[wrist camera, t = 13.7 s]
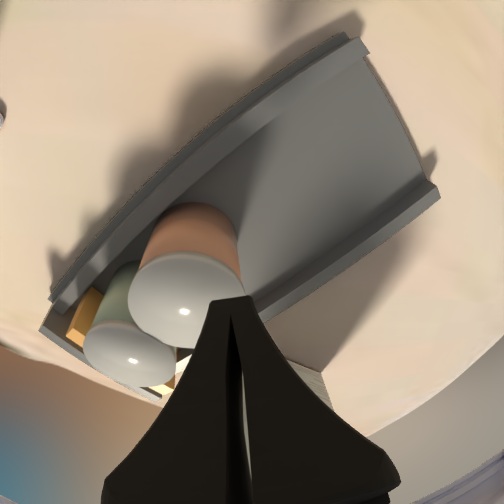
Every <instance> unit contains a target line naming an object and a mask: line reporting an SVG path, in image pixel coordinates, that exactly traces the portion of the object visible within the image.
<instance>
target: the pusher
mask: <svg viewBox="0 0 504 504" xmlns="http://www.w3.org/2000/svg"><path fill="white" fill-rule="evenodd" d="M103 297H104V295H102V294H101V293H100V292H98V291H97V290H96V289H95V288H93V287H92V286H91V287H90V288H89V289H88V290H87V292H86V293H85V294H84V295H83V297H82V299H81V301H80V304H79V306H78V308H77V310H76V312H75V315H74V317H73V319H72V322H71V324H70V326H69V329H68V331H67V333H66V337H68V338H69V339H71V340H72V341H73V342H75V343H76V344H78V345H79V346H81V347H82V348H83V342H84V339H85V336H86V334H87V332H88V330H89V329H90V328H91V326H92V324H93V321H94V319H95V316H96V314H97V311H98V309H99V307H100V304H101V302H102V300H103ZM176 359H177V347H176ZM175 371H176V370H175ZM174 385H175V374H174V376H173V377H172V379H171V380H169V381H168V382H166V383H165V384H162V385H159V386H154V387H149V388H151V389H153V390H154V391H156V392H158V393H160V394H162V395H165V394H167V393H169V392H171V391H173V390H174ZM129 386H130V385H129ZM131 387H133V388H136V386H131Z"/></svg>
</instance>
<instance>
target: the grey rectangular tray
mask: <svg viewBox="0 0 504 504" xmlns="http://www.w3.org/2000/svg"><path fill="white" fill-rule="evenodd" d="M369 53H370V52H369V51H368V49H367V48H366V46H365V45H364V43H363V42H362V41H361V39H360V38H359V37H356V38H352V39H349V38H348V37H347V35H346V34H345V32H341V33H338V34H337V35H335V36H333V37H332V38H330V39H328V40H327V41H325V42H323V43H322V44H320V45H318V46H317V47H315V48H314V49H312V50H311V51H309V52H307V53H306V54H304V55H303V56H301V57H300V58H298V59H297V60H295V61H294V62H292V63H291V64H289V65H288V66H286V67H285V68H283V69H282V70H280V71H279V72H278V73H276V74H275V75H273V76H272V77H271V78H269V79H268V80H266V81H265V82H264V83H262V84H261V85H260V86H258V87H257V88H256V89H254V90H253V91H252V92H250V93H249V94H248V95H246V96H245V97H244V98H242V99H241V100H240V101H238V102H237V103H236V104H235V105H233V106H232V107H231V108H230V109H228V110H227V111H226V112H225V113H223V114H222V115H221V116H220V117H219V118H217V119H216V120H215V121H214V122H212V123H211V124H210V125H209V126H208V127H207V128H205V129H204V130H203V131H202V132H201V133H200V134H198V135H197V136H196V137H195V138H194V139H193V140H192V141H190V142H189V143H188V144H187V145H186V146H185V147H184V148H183V149H182V150H180V151H179V152H178V153H177V154H176V155H175V156H174V157H173V158H172V159H171V160H170V161H169V162H167V163H166V164H165V165H164V166H163V167H162V168H161V169H160V170H159V171H158V172H157V173H156V174H155V175H154V176H153V177H152V178H151V179H150V180H149V181H148V182H147V183H146V184H145V185H144V186H143V187H142V188H141V189H140V190H139V191H138V192H137V193H136V194H135V195H134V196H133V197H132V198H131V199H130V200H129V201H128V202H127V203H126V204H125V205H124V207H123V208H122V209H121V210H120V211H119V212H118V213H117V214H116V215H115V216H114V217H113V218H112V220H111V221H110V222H109V223H108V224H107V225H106V226H105V227H104V228H103V230H102V231H101V232H100V233H99V234H98V235H97V236H96V238H95V239H94V240H93V241H92V242H91V243H90V245H89V246H88V247H87V248H86V249H85V251H84V252H83V253H82V254H81V255H80V257H79V258H78V259H77V260H76V262H75V263H74V264H73V265H72V267H71V268H70V269H69V270H68V272H67V273H66V274H65V276H64V277H63V278H62V279H61V281H60V282H59V283H58V285H57V286H56V287H55V289H54V290H53V291H52V293H51V294H50V296H49V298H48V300H49V301H51V302H52V305H51V307H50V309H49V311H48V313H47V315H46V317H45V318H44V320H43V322H42V324H41V326H40V329H39V332H41V333H42V334H43V335H45V336H46V337H47V338H49V339H50V340H51V341H53V342H54V343H56V344H57V345H58V346H60V347H61V348H63V349H64V350H66V351H67V352H69V353H70V354H72V355H73V356H75V357H76V358H78V359H79V360H81V361H82V362H84V363H85V364H87V365H89V366H90V367H92V368H93V369H95V368H94V367H93V366H92V365H91V364H90V363H89V361H88V360H87V358H86V356H85V354H84V352H83V348H82V347H81V346H79V345H78V344H76V343H75V342H73V341H72V340H71V339H69V338H68V337H66V333H67V331H68V329H69V326H70V324H71V322H72V319H73V317H74V315H75V312H76V310H77V308H78V306H79V304H80V301H81V299H82V297H83V295H84V294H85V293H86V292H87V290H88V289H89V288H90V287H91V286H92V287H93V288H95V289H96V290H97V291H98V292H100V293H101V294H102V295H105V293H106V290H107V288H108V286H109V284H110V281H111V279H112V277H113V275H114V273H115V271H116V270H117V269H118V268H119V267H120V266H121V265H123V264H125V263H127V262H130V261H136V260H142V258H143V255H144V252H145V249H146V247H147V244H148V241H149V238H150V236H151V233H152V230H153V228H154V225H155V223H156V221H157V220H158V218H159V217H160V216H161V215H162V214H163V213H164V212H165V211H166V210H167V209H169V208H171V207H172V206H175V205H177V204H180V203H185V202H201V203H206V204H209V205H212V206H214V207H216V208H217V209H219V210H220V211H222V212H223V213H224V214H225V215H226V216H227V217H228V218H229V219H230V221H231V222H232V224H233V226H234V229H235V232H236V238H237V247H238V256H239V264H240V273H241V281H242V284H243V286H244V289H245V295H249V296H251V297H252V298H253V302H254V305H255V308H256V310H257V312H258V315H259V317H260V319H261V321H262V323H265V322H266V321H268V320H270V319H271V318H273V317H274V316H276V315H278V314H279V313H281V312H282V311H284V310H285V309H287V308H289V307H290V306H292V305H293V304H295V303H296V302H298V301H299V300H301V299H302V298H304V297H306V296H307V295H309V294H310V293H312V292H313V291H315V290H316V289H318V288H319V287H321V286H322V285H324V284H325V283H327V282H328V281H329V280H331V279H332V278H334V277H335V276H337V275H338V274H340V273H341V272H343V271H344V270H345V269H347V268H348V267H350V266H351V265H353V264H354V263H355V262H357V261H358V260H360V259H361V258H362V257H364V256H365V255H367V254H368V253H369V252H371V251H372V250H374V249H375V248H376V247H378V246H379V245H380V244H382V243H383V242H385V241H386V240H387V239H389V238H390V237H391V236H393V235H394V234H395V233H397V232H398V231H399V230H401V229H402V228H403V227H405V226H406V225H407V224H409V223H410V222H411V221H412V220H414V219H415V218H416V217H418V216H419V215H420V214H421V213H423V212H424V211H425V210H427V209H428V208H429V207H430V206H432V205H433V204H434V203H435V202H437V201H438V200H439V199H440V198H441V196H440V194H439V191H438V188H437V186H436V185H434V184H433V183H431V182H430V181H428V180H427V179H426V177H425V175H424V172H423V170H422V168H421V165H420V163H419V161H418V158H417V156H416V154H415V152H414V150H413V147H412V145H411V143H410V141H409V139H408V137H407V135H406V133H405V131H404V129H403V127H402V125H401V123H400V121H399V119H398V117H397V115H396V113H395V111H394V110H393V108H392V106H391V104H390V102H389V101H388V99H387V97H386V95H385V94H384V92H383V90H382V88H381V87H380V85H379V83H378V82H377V80H376V78H375V77H374V75H373V74H372V72H371V70H370V69H369V67H368V66H367V64H366V63H365V61H364V60H363V57H365V56H366V55H368V54H369ZM193 351H194V348H181V347H177V359H176V371H175V374H177V373H179V372H181V371H183V370H185V368H186V366H187V364H188V362H189V360H190V357H191V355H192V353H193ZM95 370H96V369H95ZM97 371H98V370H97ZM98 372H99V371H98ZM115 382H117V381H115ZM117 383H119V384H121V385H123V386H124V387H126V388H128V389H130V390H132V391H134V392H135V393H137V394H139V395H141V396H143V397H145V398H147V399H149V400H151V401H153V402H156V401H158V400H160V399H162V394H160V393H158V392H156V391H154V390H153V389H151V388H149V387H136V388H133V387H131V386H129V385H126V384H123V383H120V382H117Z"/></svg>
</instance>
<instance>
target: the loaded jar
mask: <svg viewBox="0 0 504 504" xmlns="http://www.w3.org/2000/svg"><path fill="white" fill-rule="evenodd" d="M141 261H142V260H136V261H130V262H127V263H125V264H123V265H121V266H120V267H119V268H118V269H117V270H116V271H115V273H114V275H113V277H112V279H111V281H110V284H109V286H108V288H107V290H106V293H105V295H104V297H103V300H102V302H101V304H100V307H99V309H98V311H97V314H96V316H95V319H94V321H93V324H92V326H91V328H90V329H89V330H88V332H87V334H86V336H85V339H84V342H83V352H84V354H85V356H86V358H87V360H88V361H89V363H90V364H91V365H92V366H93V367H94V368H95V369H96V370H98V371H99V372H100V373H102V374H103V375H105V376H107V377H108V378H110V379H112V380H114V381H117V382H120V383H123V384H126V385H130V386H136V387H154V386H159V385H162V384H165V383H166V382H168V381H169V380H171V379H172V377H173V376H174V374H175V370H176V347H175V346H171V345H167V344H165V343H162V342H160V341H158V340H156V339H154V338H152V337H151V336H149V335H148V334H146V333H145V332H144V331H143V330H142V329H141V328H140V327H139V326H138V325H137V324H136V323H135V321H134V319H133V318H132V316H131V313H130V311H129V307H128V293H129V289H130V286H131V283H132V280H133V278H134V276H135V274H136V273H137V271H138V269H139V266H140V264H141Z"/></svg>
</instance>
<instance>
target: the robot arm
mask: <svg viewBox="0 0 504 504" xmlns="http://www.w3.org/2000/svg"><path fill="white" fill-rule="evenodd" d="M3 120H4V119H3V116H2V114H1V113H0V129H1V127H2V125H3ZM242 372H243V380H242ZM243 381H244V392H245V404H246V416H247V427H248V440H249V452H250V466H251V475H250V468H249V461H248V454H247V447H246V440H245V433H244V420H243ZM251 480H252V481H251ZM400 483H401V480H400V476H399V473H398V471H397V469H396V467H395V466H394V464H393V462H392V461H391V459H390V458H389V456H388V455H387V454H386V452H385V451H384V450H383V449H382V448H380V447H378V446H377V445H376V444H374V443H373V442H371V441H370V440H368V439H367V438H366V437H364V436H363V435H362V434H360V433H359V432H358V431H356V430H355V429H354V428H353V427H351V426H350V425H349V424H348V423H346V422H345V421H344V420H343V419H342V418H340V417H339V416H338V415H337V414H336V413H335V412H334V411H333V410H332V409H331V408H330V407H328V406H327V405H326V404H325V403H324V402H323V401H322V400H321V399H320V398H319V397H318V396H317V395H316V394H315V393H314V392H313V391H312V390H311V389H310V388H309V387H308V385H307V384H306V383H305V382H304V381H303V380H302V379H301V377H300V376H299V375H298V374H297V373H296V372H295V370H294V369H293V368H292V367H291V365H290V364H289V363H288V361H287V360H286V359H285V357H284V356H283V354H282V353H281V352H280V350H279V349H278V347H277V346H276V344H275V343H274V341H273V340H272V338H271V336H270V335H269V333H268V331H267V330H266V328H265V326H264V324H263V323H262V321H261V319H260V317H259V315H258V312H257V310H256V308H255V305H254V302H253V298H252V297H251V296H249V295H246V296H240V297H233V298H226V299H219V300H212V301H211V302H210V303H209V307H208V311H207V315H206V318H205V321H204V324H203V327H202V330H201V333H200V335H199V338H198V341H197V343H196V346H195V348H194V351H193V353H192V355H191V357H190V360H189V362H188V364H187V366H186V368H185V370H184V372H183V374H182V376H181V378H180V380H179V382H178V384H177V386H176V388H175V390H174V391H173V393H172V395H171V396H170V398H169V400H168V402H167V403H166V405H165V406H164V408H163V409H162V411H161V412H160V414H159V416H158V417H157V419H156V420H155V421H154V423H153V424H152V426H151V427H150V428H149V430H148V431H147V432H146V434H145V435H144V436H143V437H142V439H141V440H140V441H139V442H138V444H137V445H136V446H135V447H134V449H133V450H132V451H131V452H130V453H129V455H128V456H127V457H126V458H125V459H124V460H123V461H122V462H121V463H120V464H119V465H118V466H117V467H116V468H115V469H114V470H113V471H112V472H111V473H110V474H109V475H108V476H107V477H106V479H105V481H104V486H103V490H102V495H101V504H389V503H390V498H389V495H388V492H390V491H391V490H393V489H394V488H396V487H397V486H399V485H400ZM0 504H18V503H16V502H14V501H12V500H9V499H8V498H5V497H3V496H1V495H0ZM410 504H504V449H503V450H502V451H500V452H499V453H497V454H496V455H495V456H493V457H492V458H490V459H489V460H487V461H486V462H484V463H483V464H482V465H481V466H479V467H478V468H476V469H475V470H473V471H472V472H470V473H468V474H467V475H465V476H463V477H461V478H460V479H458V480H456V481H454V482H453V483H451V484H449V485H447V486H445V487H444V488H442V489H440V490H438V491H436V492H434V493H432V494H430V495H428V496H426V497H423V498H421V499H419V500H417V501H415V502H413V503H410Z"/></svg>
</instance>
